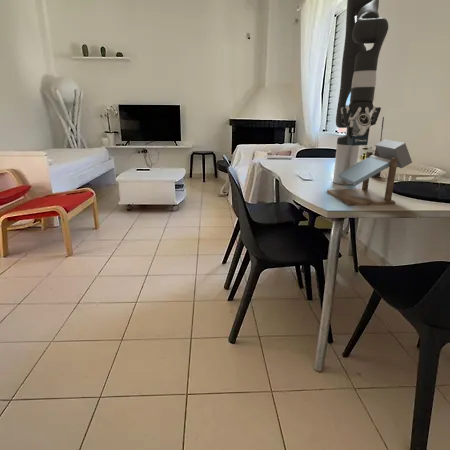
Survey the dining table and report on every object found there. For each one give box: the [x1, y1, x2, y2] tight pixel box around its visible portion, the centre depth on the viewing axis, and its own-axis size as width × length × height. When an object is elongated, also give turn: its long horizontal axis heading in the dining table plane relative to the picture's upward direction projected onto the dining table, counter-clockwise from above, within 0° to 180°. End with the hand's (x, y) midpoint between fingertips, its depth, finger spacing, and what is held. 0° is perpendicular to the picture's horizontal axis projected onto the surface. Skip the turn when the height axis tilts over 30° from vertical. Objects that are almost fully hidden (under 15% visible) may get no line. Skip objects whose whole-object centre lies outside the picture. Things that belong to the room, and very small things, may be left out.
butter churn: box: [372, 116, 385, 178], centre depth 157 cm, size 9×10×28 cm
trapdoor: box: [338, 139, 413, 187], centre depth 121 cm, size 21×14×8 cm
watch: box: [347, 113, 371, 146], centre depth 116 cm, size 6×8×11 cm
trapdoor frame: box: [326, 151, 398, 207], centre depth 122 cm, size 17×20×16 cm
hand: (357, 137), depth 117 cm, fingers closed on watch, 5 cm apart
